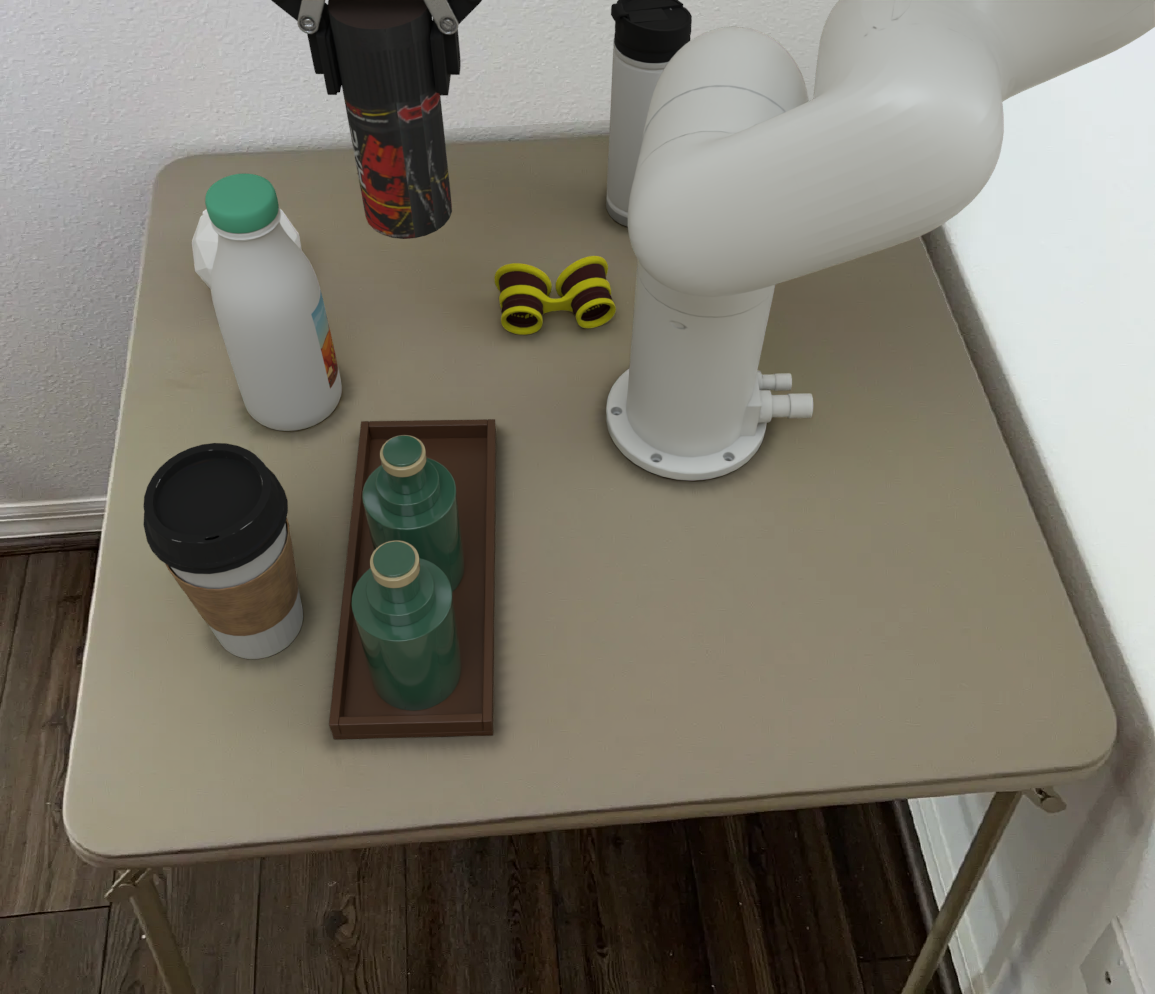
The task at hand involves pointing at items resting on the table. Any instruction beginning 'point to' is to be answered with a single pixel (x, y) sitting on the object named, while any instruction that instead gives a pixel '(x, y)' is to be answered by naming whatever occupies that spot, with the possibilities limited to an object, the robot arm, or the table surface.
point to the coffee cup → (228, 545)
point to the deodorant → (393, 113)
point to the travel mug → (637, 84)
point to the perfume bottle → (208, 243)
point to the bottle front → (407, 628)
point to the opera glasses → (575, 285)
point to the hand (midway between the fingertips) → (390, 80)
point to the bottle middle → (415, 505)
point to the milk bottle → (270, 309)
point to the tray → (471, 703)
